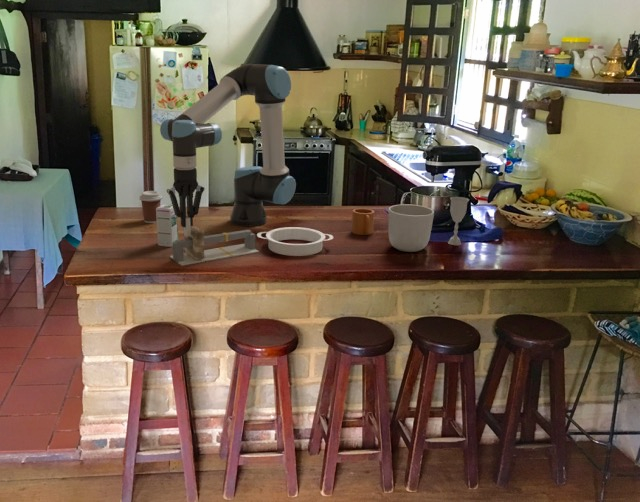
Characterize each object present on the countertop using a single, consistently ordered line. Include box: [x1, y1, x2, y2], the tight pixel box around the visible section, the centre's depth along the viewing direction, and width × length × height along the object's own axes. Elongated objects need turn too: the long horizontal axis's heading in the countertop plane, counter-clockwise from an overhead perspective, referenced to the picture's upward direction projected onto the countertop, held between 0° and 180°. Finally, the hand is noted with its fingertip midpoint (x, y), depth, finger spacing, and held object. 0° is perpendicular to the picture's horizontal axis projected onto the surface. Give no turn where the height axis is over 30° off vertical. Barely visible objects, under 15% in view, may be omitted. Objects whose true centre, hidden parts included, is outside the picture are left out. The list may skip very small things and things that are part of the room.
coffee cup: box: [139, 190, 163, 224], centre depth 265 cm, size 9×9×12 cm
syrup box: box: [156, 204, 179, 248], centre depth 237 cm, size 6×6×14 cm
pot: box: [256, 226, 334, 257], centre depth 241 cm, size 29×22×5 cm
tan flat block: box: [183, 225, 205, 260], centre depth 224 cm, size 3×10×10 cm, turn 35°
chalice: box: [447, 196, 470, 246], centre depth 251 cm, size 7×7×18 cm
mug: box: [351, 208, 375, 236], centre depth 261 cm, size 9×12×9 cm
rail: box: [169, 229, 260, 267], centre depth 229 cm, size 30×10×7 cm, turn 125°
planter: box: [387, 203, 435, 253], centre depth 243 cm, size 17×17×15 cm
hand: (187, 235), depth 222 cm, fingers closed
